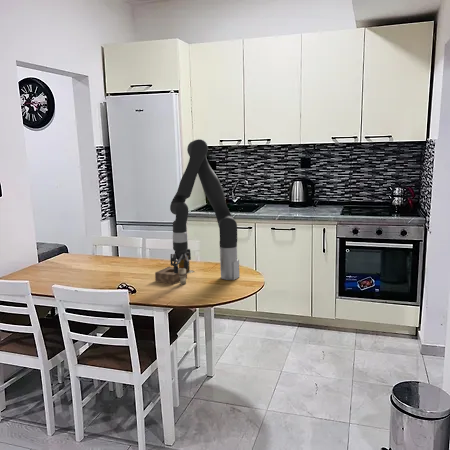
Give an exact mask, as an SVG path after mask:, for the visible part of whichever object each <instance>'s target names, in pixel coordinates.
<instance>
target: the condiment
mask: <svg viewBox="0 0 450 450" xmlns="http://www.w3.org/2000/svg"><path fill="white" fill-rule="evenodd" d="M188 258H189V256H188ZM178 268H184V260H183V259H182V260H181V261H180V263H179V264H178ZM194 272H195V271H194V270H191V269H190V261H189V262H188V269H187V274H191V273H194Z"/></svg>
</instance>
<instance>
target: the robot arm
mask: <svg viewBox="0 0 450 450" xmlns="http://www.w3.org/2000/svg"><path fill="white" fill-rule="evenodd" d="M208 151H209V145H208V143H207V142H206V141H205V140H204V139H199V138H198V139H194V140H191V141H190V142H189V144H188V145H187V154H188V156H189V160H188V164H187V166H186V167H185V170H184V172H183V175H182V176H181V178H180V182H179V184H178V189H177V190H176V192H175V195H174V196H173V198H172V200H171V201H170V202H171V203H170V205H169V211H170V213H172V215H175V220H173V221H172V249H173V250H174V253H171V254H170V267H174V273H178V268H179V263H180V261H181V260H182V259H183V260H184V268H185V269H188V262H189V263H190V261H191V260H192V257H191V249H190V248H189V247H188V246H189V245H188V241H189V239H188V228H187V225H188V224H187V223H188V218H189V211H190V210H189V207H188V205H187V203H186V201H187V199H189V198H190V197H191V194H192V192H193V189H194V185H195V182H196V180H197V176H198V178H199V182H200V184H201V186H202V189H203V192H204V194H205V196H206V199H207V200H208V202H209V204H210V205H211V207H212V209H213V212H214V214H215V217H216V221H217V225H218V228H219V229H218V230H219V262H220V265H219V266H220V267H219V268H220V278H221V279H222V280H226V281H234V280H236V279H238V278H240V276H241V275H240V259H238V224H237V221H236V220H235V218H234V217H233V215H232V213H231V211H230V210H229V207H228V205H227V201H226V196H225V192H224V189H223V186H222V184H221V182H220V179H219V177H218V176H217V174H216V173H215V171H214V169H212V167H211V165H210V163H209V161H208V159H207V154H208ZM188 256H189V258H188Z"/></svg>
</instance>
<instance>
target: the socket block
mask: <svg viewBox="0 0 450 450" xmlns="http://www.w3.org/2000/svg"><path fill="white" fill-rule="evenodd" d="M179 269H180V268H179V267H178V273H174V266H166V267H165V268H163V269H159V270H158V271H155V273H154V274H155V275H154V277H155V282H156V283H164V284H168V285H169V284H170V285H176V284H178V283H180V277H179ZM186 279H188V273H187V269H186Z"/></svg>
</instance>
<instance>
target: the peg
mask: <svg viewBox="0 0 450 450" xmlns="http://www.w3.org/2000/svg"><path fill="white" fill-rule="evenodd" d="M179 277H180V282H179V285H181V286H185V285H186V284H187V278H186V269H185V268H180V269H179Z"/></svg>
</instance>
